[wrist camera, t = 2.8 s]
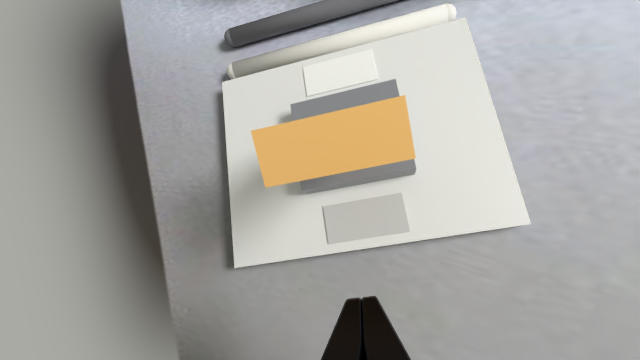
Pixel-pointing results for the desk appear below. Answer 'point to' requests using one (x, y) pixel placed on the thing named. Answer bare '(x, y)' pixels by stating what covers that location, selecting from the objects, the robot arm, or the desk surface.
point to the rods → (334, 5)
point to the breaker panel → (380, 181)
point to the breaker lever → (335, 142)
